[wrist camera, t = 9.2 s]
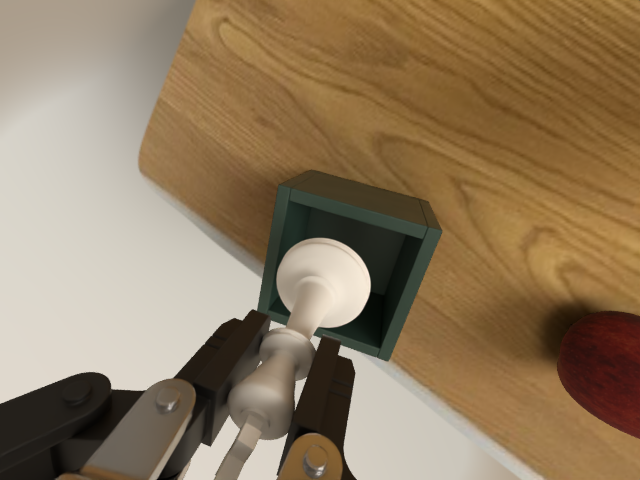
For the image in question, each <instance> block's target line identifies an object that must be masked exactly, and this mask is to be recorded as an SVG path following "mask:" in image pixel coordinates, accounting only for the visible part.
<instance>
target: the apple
mask: <svg viewBox="0 0 640 480" xmlns="http://www.w3.org/2000/svg"><path fill="white" fill-rule="evenodd" d="M557 371H558V375H559V378H560V380H561V382H562V385H563V386H564V388H565V389H566V391H567V392H568V393H569V394H570V396H571V397H572V398H573V399H574V400H575V401H576V402H577V403H578V404H579V405H581V406H582V407H583V408H584V409H586V410H587V411H588V412H589V413H591V414H592V415H594V416H595V417H597V418H598V419H600V420H602V421H603V422H605V423H607V424H609V425H610V426H612V427H614V428H616V429H618V430H620V431H622V432H625V433H627V434H629V435H631V436H634V437H636V438H639V439H640V316H637V315H634V314H630V313H625V312H618V311H601V312H595V313H591V314H588V315H586V316H584V317H583V318H581V319H580V320H578V321H577V322H576V323H574V324H571V325H570V328H569V330H568V331H567V332H566V334H565V336H564V337H563V340H562V342H561V346H560V354H559V359H558V362H557Z"/></svg>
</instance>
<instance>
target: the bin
mask: <svg viewBox="0 0 640 480" xmlns="http://www.w3.org/2000/svg"><path fill="white" fill-rule="evenodd" d="M441 234H442V229H441V227H440V225H439V223H438V221H437V219H436V216H435V214H434V212H433V210H432V208H431V206H430V204H429V202H428V201H425V200H421V199H418V198H414V197H410V196H407V195H403V194H399V193H396V192H392V191H388V190H385V189H381V188H377V187H374V186H370V185H366V184H362V183H359V182H355V181H351V180H348V179H344V178H340V177H337V176H333V175H329V174H326V173H322V172H318V171H315V170H310V171H308V172H306V173H304V174H301V175H299V176H297V177H295V178H292V179H290V180H288V181H286V182H283V183H281V184H279V185H278V191H277V196H276V202H275V208H274V214H273V220H272V226H271V232H270V238H269V244H268V250H267V255H266V261H265V267H264V273H263V279H262V285H261V291H260V297H259V303H258V309H257V311H259V312H262V313H265V314H267V315H270V316H271V320H272V321H275V322H277V323H280V324H283V325H287V323H288V320H289V317H290V315H291V312H290V311H289V310H288V309H287V308H286V306H285V305H284V303H283V302H282V300H281V298H280V295H279V293H278V289H277V272H278V268H279V266H280V263H281V262H282V259H283V257H284V256H285V254H286V253H287V252H288V251H289V250H290V249H291V248H292V247H293V246H294V245H296V244H297V243H299V242H301V241H304V240H307V239H312V238H327V239H332V240H335V241H338V242H341V243H343V244H345V245H346V246H348V247H349V248H351V249H352V250H353V251H354V252H356V253H357V254H358V255H359V257H360V258H361V259H362V261H363V262H364V264H365V265H366V268H367V270H368V273H369V276H370V283H371V287H370V294H369V298H368V300H367V302H366V304H365V306H364V308H363V310H362V311H361V313H360V314H359V315H358V316H357V317H356V318H355V319H353V320H352V321H351V322H349V323H347V324H344V325H342V326H338V327H331V328H325V327H318V328H317V329H316V331H315V332H314V334H313V335H314V336H317V337H320V338H321V337H322V335H323V334H324V335H327V336H330V337H333V338H336V339H339V340H341V345H343V346H345V347H348V348H351V349H354V350H357V351H359V352H362V353H365V354H368V355H371V356H374V357H377V358H379V359H382V360H385V361H389V359H390V357H391V354H392V352H393V350H394V347H395V345H396V342H397V340H398V337H399V335H400V333H401V330H402V328H403V325H404V323H405V321H406V318H407V316H408V313H409V311H410V308H411V306H412V304H413V301H414V299H415V296H416V294H417V292H418V289H419V287H420V284H421V282H422V280H423V277H424V275H425V272H426V270H427V267H428V265H429V263H430V260H431V258H432V255H433V253H434V251H435V248H436V246H437V243H438V241H439V239H440V236H441Z"/></svg>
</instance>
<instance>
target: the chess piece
mask: <svg viewBox="0 0 640 480" xmlns="http://www.w3.org/2000/svg"><path fill="white" fill-rule="evenodd" d="M370 287H371V283H370V276H369V273H368V270H367V268H366V265H365V264H364V262H363V261H362V259H361V258H360V257H359V255H358V254H357V253H356V252H354V251H353V250H352V249H351V248H349V247H348V246H346V245H345V244H343V243H341V242H338V241H335V240H332V239H327V238H312V239H307V240H304V241H301V242H299V243H297V244H296V245H294V246H293V247H292V248H291V249H290V250H289V251H288V252H287V253H286V254H285V256H284V257H283V259H282V262H281V263H280V266H279V268H278V272H277V289H278V293H279V295H280V298H281V300H282V302H283V303H284V305H285V306H286V308H287V309H288V310H289V311H290V312H291V315H290V317H289V320H288V323H287V325H286V328H276V329H272V330H270V331H269V332H267V333H266V334H265V335H264V336H263V339H262V343H261V345H260V348H259V355H260V359H261V361H262V364H261V365H260V366H258V367H257V369H256V370H254V371H253V372H252V373H250V374H249V375H247V376H246V377H244V378H243V379H242V380H240V381H239V382H238V383H237V384H236V385H235V386H234V387H233V388H232V389H231V391H230V392H229V394H228V397H227V409H228V412H229V415H230V416H231V418H232V420H233V422H234V423H235V424H236V425H237V426H238V427H239V428H240V431H239V433H238V435H237V437H236V439H235V441H234V443H233V444H232V446H231V448H230V449H229V451H228V453H227V454H226V456H225V457H224V459H223V461H222V463H221V465H220V467H219V469H218V471H217V473H216V474H215V475H216V477H215V479H214V480H237V478H238V476H239V474H240V472H241V469H242V467H243V465H244V463H245V462H246V460H247V459H248V457H249V456H250V455H251V453H252V452H253V450H254V448H255V446H256V444H257V441H258V439H263V440H274V439H278V438H281V437H283V436H284V435H286V434H287V433H288V432H289V428H290V424H291V421H292V418H293V415H294V413H295V400H294V391H295V381H298V380H302V379H304V378H306V377H307V376H308V374H309V371H310V368H311V365H312V362H313V360H314V357H315V354H316V350H315V348H314V346H313V344H312V343H311V342H310V339H311V337H312V335H313V334H314V332H315V331H316V329H317V328H318V327H325V328H331V327H338V326H342V325H344V324H347V323H349V322H351V321H352V320H353V319H355V318H356V317H357V316H358V315H359V314H360V313H361V311H362V310H363V308H364V306H365V304H366V302H367V300H368V298H369V294H370Z"/></svg>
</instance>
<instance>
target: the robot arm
mask: <svg viewBox="0 0 640 480" xmlns="http://www.w3.org/2000/svg"><path fill="white" fill-rule="evenodd" d="M270 322H271V316H270V315H267V314H265V313H262V312H259V311H256V310H251V311H250V312H249V313H248V315H247V316H246V317H245V319H244V320H243V321H241V320H239V319H236V318H233V319H231V320H229V321H228V322H225V323H223V324H222V325H221V326H220V327H219V328H218V329H217V330H216V331H215V332H214V333H213V335H212V336H211V337H210V338H209V339H208V340H207V341H206V343H205V345H203V346H202V347H201V348H200V349H199V350H198V351H197V352H196V354H195V355H194V356H193V357H192V358H191V359H190V360H189V361H188V362H187V364H186V365H185V366H184V367H183V368H182V369H181V370H180V371H179V372H178V374H177V375H176V376H175V377H174V378H173V379H166V380H163V381H160V382H158V383H156V384H154V385H152V386H151V387H150V388H148V389H147V390H144V391H131V390H113V389H111V383H110V381H109V379H108V378H107V377H106V376H105V375H103V374H100V373H95V372H86V373H80V374H77V375H74V376H70V377H68V378H66V379H63V380H60V381H58V382H55V383H52V384H50V385H47V386H45V387H42V388H40V389H37V390H34V391H32V392H30V393H27V394H24V395H22V396H19V397H17V398H14V399H11V400H9V401H7V402H4V403H1V404H0V480H183V478H184V476H185V474H186V472H187V470H188V468H189V466H190V462H191V458H192V456H193V455H194V453H195V451H196V450H197V448H198V446H199V445H200V443H203V444H205V445H208V446H211V445H212V443H213V442H214V440H215V438H216V436H217V435H218V433H219V431H220V430H221V428H222V426H223V424H224V423H225V421H226V419H227V418H228V416H229V412H228V409H227V397H228V394H229V392H230V391H231V389H232V388H233V387H234V386H235V385H236V384H237V383H238V382H239V381H240V380H242V379H243V378H244V377H246V376H247V375H249V374H250V373H252V372H253V371H254V370H256V368H257V366H258V365H259V363H260V361H261V359H260V355H259V348H260V345H261V343H262V339H263V336H264V335H265V334H266V333H267V332H269V327H270ZM340 345H341V340H339V339H336V338H333V337H330V336H327V335H324V334H323V335H322V337H321V340H320V344H319V346H318V349H317V351H316V354H315V357H314V360H313V362H312V365H311V368H310V371H309V374H308V376H307V379H306V382H305V385H304V388H303V391H302V393H301V396H300V399H299V402H298V404H297V407H296V410H295V413H294V415H293V418H292V421H291V424H290V428H289V432H288V436H287V439H286V443H285V446H284V450H283V454H282V457H281V461H280V465H279V469H278V472H277V475H278V478H277V480H357V479H356V478H355V477H354V476H353V475H352V473H351V471H350V470H349V468H348V466H347V464H346V461H345V457H344V450H343V446H344V439H345V433H346V427H347V420H348V414H349V408H350V402H351V396H352V390H353V384H354V378H355V370H354V367H353V363H352V360H350V359H347V358H345V357H342V356H339V355H338V352H339V349H340Z"/></svg>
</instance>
